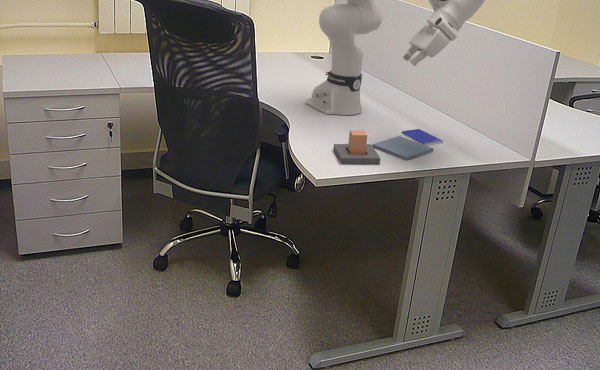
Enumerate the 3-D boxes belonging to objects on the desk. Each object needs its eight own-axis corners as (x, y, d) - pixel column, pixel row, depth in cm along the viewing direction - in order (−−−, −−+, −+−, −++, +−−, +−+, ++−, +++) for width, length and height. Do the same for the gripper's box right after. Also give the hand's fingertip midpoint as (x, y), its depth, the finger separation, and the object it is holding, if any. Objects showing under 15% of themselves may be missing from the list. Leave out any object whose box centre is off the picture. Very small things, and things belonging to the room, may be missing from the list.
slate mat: (372, 146, 210) (372, 144, 210) (399, 138, 219) (399, 135, 219) (406, 160, 201) (406, 157, 201) (433, 151, 210) (433, 148, 210)
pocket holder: (340, 164, 195) (341, 158, 194) (333, 149, 206) (333, 143, 205) (379, 164, 197) (380, 158, 196) (370, 150, 208) (370, 144, 207)
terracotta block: (350, 159, 199) (352, 135, 196) (347, 154, 203) (349, 130, 200) (364, 159, 200) (367, 135, 196) (361, 154, 204) (364, 130, 200)
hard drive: (443, 140, 218) (419, 128, 228) (424, 142, 214) (401, 131, 224) (442, 144, 218) (419, 132, 228) (423, 147, 215) (400, 135, 224)
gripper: (425, 16, 200) (393, 50, 202) (444, 21, 180) (408, 59, 183) (439, 30, 201) (407, 63, 204) (459, 37, 182) (424, 74, 184)
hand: (408, 61), depth 193 cm, fingers open, 8 cm apart
